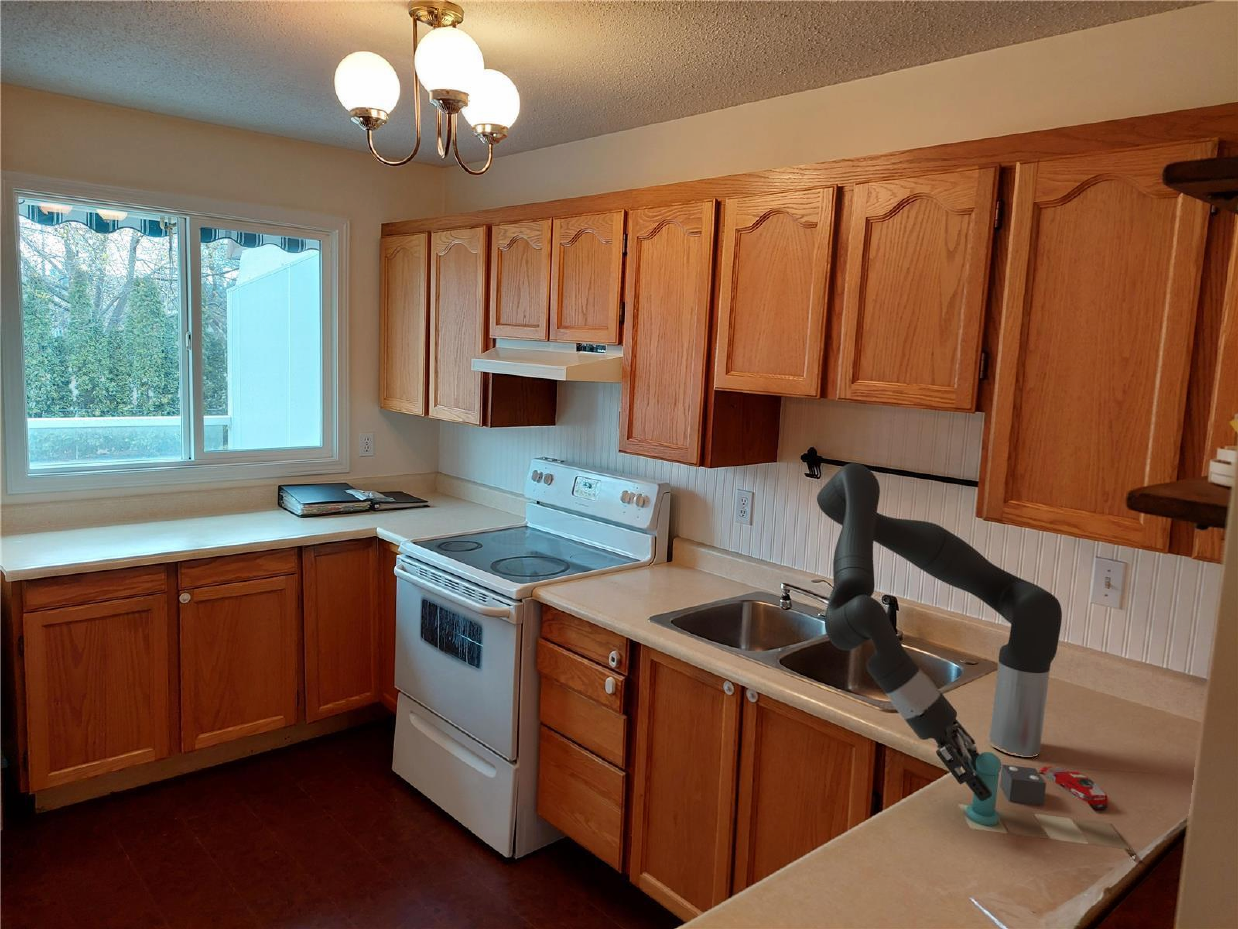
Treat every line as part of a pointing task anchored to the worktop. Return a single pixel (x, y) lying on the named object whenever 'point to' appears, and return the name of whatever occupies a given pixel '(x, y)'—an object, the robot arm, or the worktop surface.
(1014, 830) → the track board
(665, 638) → the worktop surface
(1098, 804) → the race car
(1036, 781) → the die
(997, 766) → the pawn
